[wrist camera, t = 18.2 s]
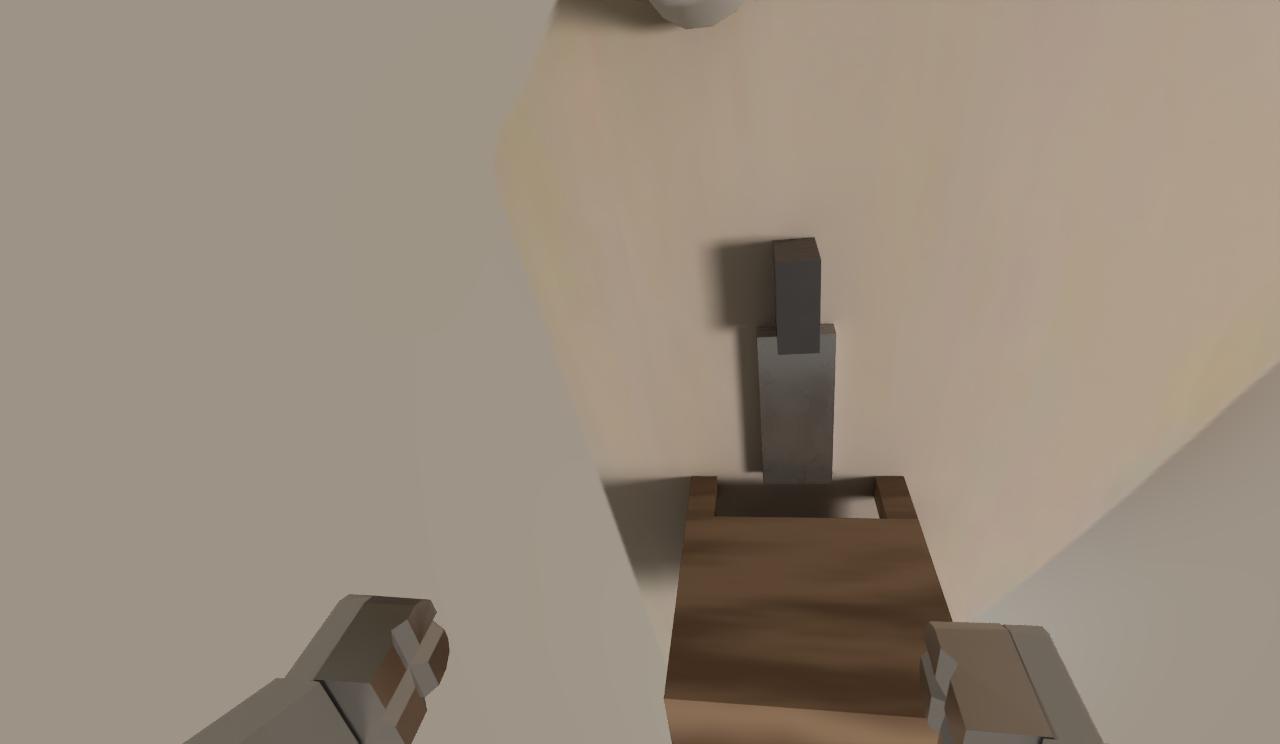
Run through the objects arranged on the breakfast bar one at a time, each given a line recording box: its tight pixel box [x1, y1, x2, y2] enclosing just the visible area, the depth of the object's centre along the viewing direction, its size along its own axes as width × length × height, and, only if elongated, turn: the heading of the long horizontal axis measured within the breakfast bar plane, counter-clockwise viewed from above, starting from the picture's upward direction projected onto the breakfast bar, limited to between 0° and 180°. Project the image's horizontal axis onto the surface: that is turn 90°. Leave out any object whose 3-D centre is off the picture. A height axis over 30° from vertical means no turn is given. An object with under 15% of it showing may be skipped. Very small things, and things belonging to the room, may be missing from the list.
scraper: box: [757, 237, 836, 483], centre depth 40 cm, size 18×5×4 cm, turn 8°
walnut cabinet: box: [664, 477, 953, 744], centre depth 41 cm, size 11×16×18 cm
